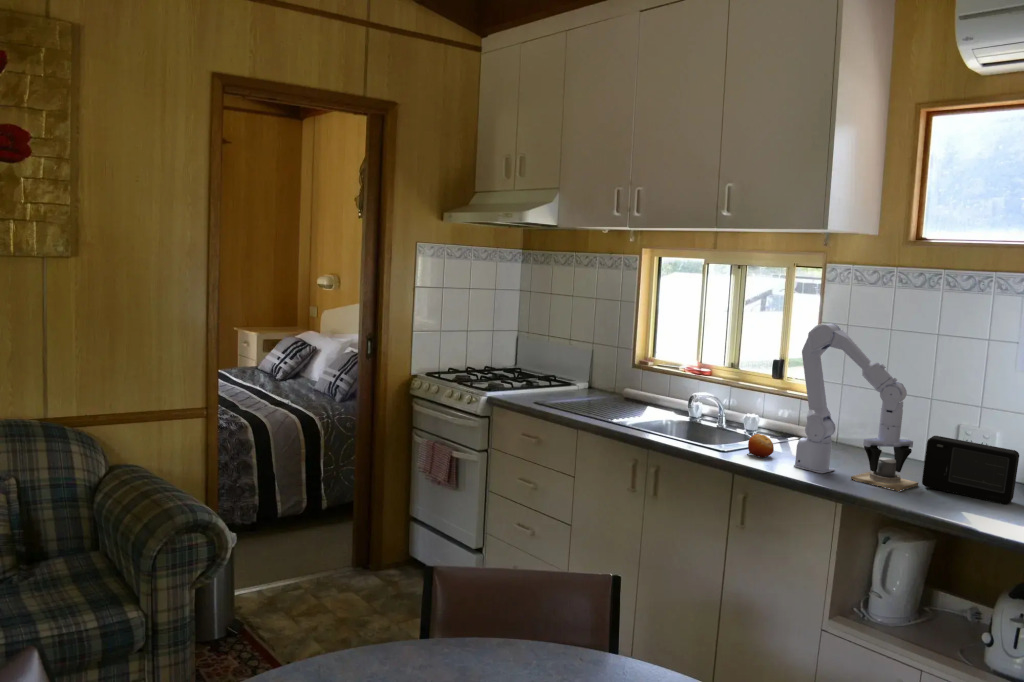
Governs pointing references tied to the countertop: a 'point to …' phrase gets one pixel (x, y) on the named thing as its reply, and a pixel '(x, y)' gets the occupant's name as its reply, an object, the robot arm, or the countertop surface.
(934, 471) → the black box
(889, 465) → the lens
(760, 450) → the fruit
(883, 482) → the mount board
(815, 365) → the robot arm
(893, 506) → the countertop surface
